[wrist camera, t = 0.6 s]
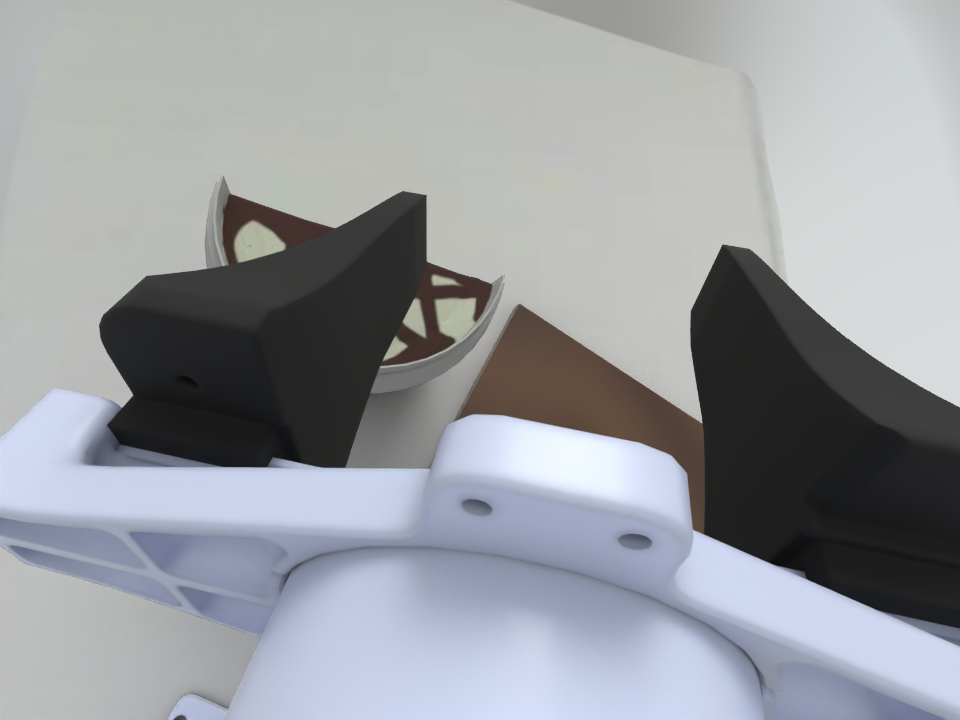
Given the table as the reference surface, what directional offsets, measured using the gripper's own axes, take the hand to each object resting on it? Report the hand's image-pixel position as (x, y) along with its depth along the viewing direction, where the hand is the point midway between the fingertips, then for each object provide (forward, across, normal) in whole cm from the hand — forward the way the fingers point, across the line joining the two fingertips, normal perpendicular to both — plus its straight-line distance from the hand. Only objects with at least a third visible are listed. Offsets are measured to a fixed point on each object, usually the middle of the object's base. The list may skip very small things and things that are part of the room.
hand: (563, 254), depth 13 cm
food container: (+7, +11, +14) cm, 19 cm away
